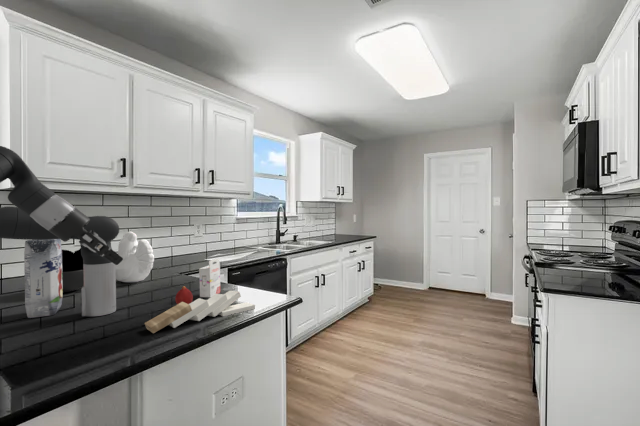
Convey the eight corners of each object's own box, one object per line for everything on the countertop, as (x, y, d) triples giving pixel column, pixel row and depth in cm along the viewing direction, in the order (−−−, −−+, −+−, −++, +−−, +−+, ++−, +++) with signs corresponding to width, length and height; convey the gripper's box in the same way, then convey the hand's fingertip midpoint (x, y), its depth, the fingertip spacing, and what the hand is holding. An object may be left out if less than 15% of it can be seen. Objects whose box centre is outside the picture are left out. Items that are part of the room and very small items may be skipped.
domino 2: (196, 315, 103) (225, 294, 112) (187, 313, 106) (216, 293, 115) (199, 321, 103) (227, 299, 113) (189, 319, 106) (217, 298, 116)
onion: (178, 306, 121) (178, 284, 121) (194, 305, 122) (194, 284, 122) (173, 311, 116) (172, 288, 115) (190, 310, 116) (189, 287, 116)
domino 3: (212, 311, 107) (239, 291, 117) (202, 309, 110) (229, 290, 120) (214, 316, 108) (240, 296, 117) (204, 315, 111) (231, 295, 120)
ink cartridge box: (210, 292, 142) (209, 257, 142) (220, 292, 141) (220, 258, 141) (198, 297, 134) (198, 260, 134) (210, 297, 133) (209, 261, 133)
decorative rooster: (107, 281, 166) (106, 231, 166) (141, 276, 178) (140, 230, 178) (126, 288, 150) (125, 233, 150) (161, 282, 162) (160, 231, 162)
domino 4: (223, 312, 109) (254, 304, 117) (215, 309, 113) (247, 302, 121) (223, 318, 109) (254, 310, 117) (216, 314, 113) (247, 307, 121)
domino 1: (171, 322, 98) (207, 300, 106) (164, 318, 102) (199, 298, 110) (174, 328, 99) (209, 306, 107) (166, 324, 102) (201, 303, 110)
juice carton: (23, 320, 108) (21, 236, 107) (32, 311, 117) (31, 234, 117) (57, 315, 112) (56, 235, 112) (64, 307, 121) (63, 233, 121)
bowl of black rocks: (37, 300, 132) (37, 252, 132) (36, 291, 147) (36, 248, 147) (98, 291, 145) (97, 248, 145) (91, 284, 160) (91, 245, 160)
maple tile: (150, 327, 94) (189, 304, 102) (144, 323, 98) (182, 301, 106) (153, 333, 94) (192, 310, 102) (146, 328, 98) (184, 307, 106)
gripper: (48, 228, 84) (103, 267, 91) (45, 231, 73) (109, 276, 80) (73, 206, 87) (125, 246, 94) (74, 206, 76) (133, 251, 83)
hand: (118, 260), depth 87 cm, fingers open, 8 cm apart
